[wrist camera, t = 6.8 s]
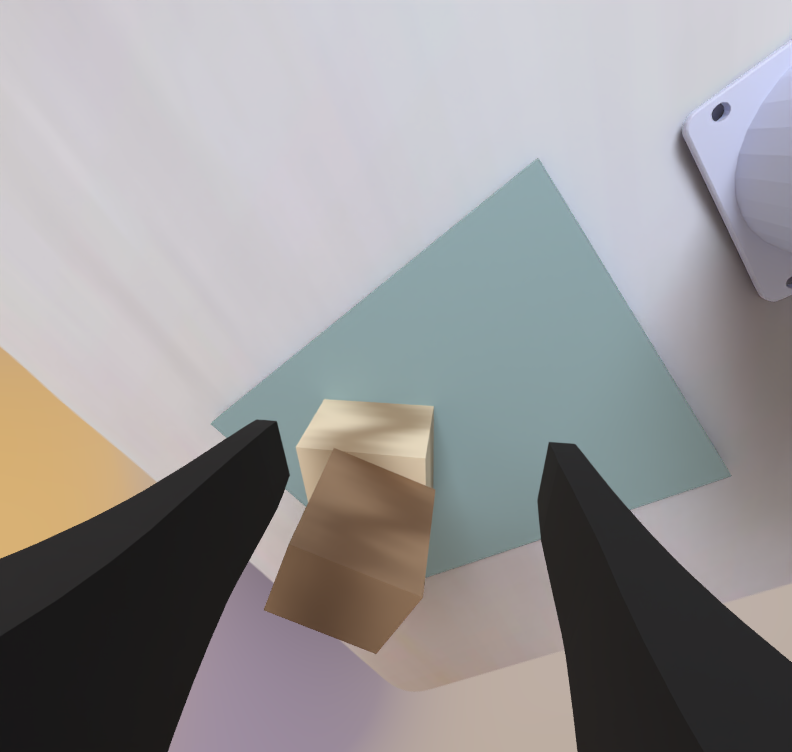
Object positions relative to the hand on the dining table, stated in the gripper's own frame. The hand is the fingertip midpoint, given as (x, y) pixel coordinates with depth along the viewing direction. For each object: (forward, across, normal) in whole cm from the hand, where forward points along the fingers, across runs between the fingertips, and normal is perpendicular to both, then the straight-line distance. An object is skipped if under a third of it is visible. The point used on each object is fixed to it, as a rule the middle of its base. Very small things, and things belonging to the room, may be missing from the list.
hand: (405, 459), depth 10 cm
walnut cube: (+5, +3, +8) cm, 10 cm away
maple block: (+9, +3, +8) cm, 12 cm away
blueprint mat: (+9, 0, +7) cm, 12 cm away
